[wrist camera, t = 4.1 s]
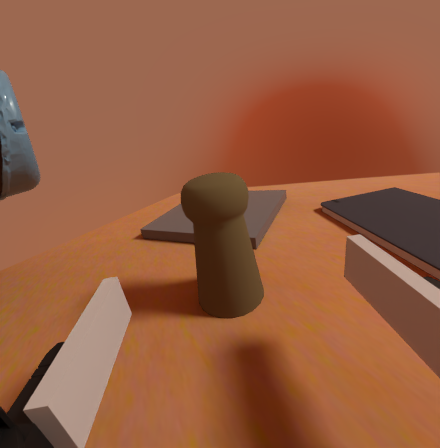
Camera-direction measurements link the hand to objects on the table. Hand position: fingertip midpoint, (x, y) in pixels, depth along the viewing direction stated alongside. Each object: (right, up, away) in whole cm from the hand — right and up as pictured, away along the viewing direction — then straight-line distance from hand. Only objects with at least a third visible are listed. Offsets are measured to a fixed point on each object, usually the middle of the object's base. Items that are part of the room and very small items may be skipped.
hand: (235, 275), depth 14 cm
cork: (0, -4, +8) cm, 9 cm away
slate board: (-1, +4, +26) cm, 26 cm away
